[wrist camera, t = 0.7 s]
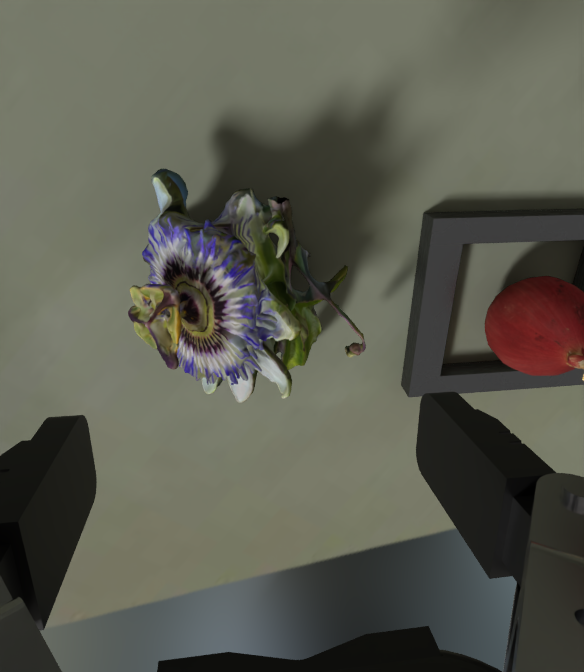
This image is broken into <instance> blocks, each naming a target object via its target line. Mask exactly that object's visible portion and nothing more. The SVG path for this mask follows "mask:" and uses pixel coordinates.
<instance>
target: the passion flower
mask: <svg viewBox="0 0 584 672" xmlns="http://www.w3.org/2000/svg"><path fill="white" fill-rule="evenodd" d="M151 178H152V180H151V181H152V183H153V185H154V188H155V191H156V194H157V197H158V204H159V207H160V210H161V213H160V214H159V215H158V216H157V217H156V218H155V219H154V220H152V221H151V222H150V225H149V228H148V232H149V238H148V240H149V244H148V245H147V247H146V248H145V250H144V251H143V252H142V255H143V258H144V261H145V262H147V263H148V264H149V265H150V268H151V270H150V272H151V274H150V275H149V277H148V278H149V281H150V282H151V284H146V285H144V286H143V287H138V286H132V287H131V288H130V292H131V297H132V299H133V302H134V303H135V305H136V306H132V307H131V308H130V310H129V311H128V315H129V317H130V319H131V320H132V321H133V322H134V329H135V331H136V333H137V335H138V336H139V337H141V338H142V339H143V340H144V341H145V342H146V343H147V344H149V345H150V346H151V347H152V348H154V349H158V351H159V353H160V354H161V356H162V358H163V360H164V361H165V362H166V365H167V367H169V368H170V369H176V368H177V367H178V365H179V362H180V365H179V366H180V367H181V368H183V369H184V371H185V373H190V374H191V375H192V376H194V377H196V381H198V380H199V379H200V380H201V379H202V386H203V388H204V391H205V392H206V393H207V394H211V393H214V391H215V390H216V388H217V387H218V386H219V385H220V384H221V382H222V381H223V380H226V378H227V381H228V383H229V386H230V388H231V391H232V393H233V394H234V396H235V398H236V400H237V401H238V402H239V403H241V402H244V401H246V400H247V399H248V398H249V396H250V395H251V394H252V393H253V391H254V387H255V381H256V376H257V372H260V373H261V374H262V375H263V376H266V377H267V378H268V379H269V380H270V381H271V382H275V383H277V385H278V388H279V389H280V392H281V393H282V394H283V395H282V398H286V397H288V396H289V395H290V392H291V386H292V379H291V375H290V373H289V371H288V370H289V369H292V368H293V367H294V366H297V365H300V366H303V365H305V363H306V361H307V358H308V355H309V351H310V349H311V346H312V344H313V343H314V342H316V340H317V336H318V335H319V334H320V333H321V331H322V326H321V323H320V320H319V318H318V317H317V314H316V311H315V310H314V307H313V306H314V305H315V304H317V303H319V302H321V301H322V300H326V301H328V302H329V304H330V305H331V306H332V307H333V308H334V309H335V310H336V311H337V313H338V314H339V315H340V316H341V317H343V318H344V319H345V320H346V321H347V322H348V324H349V325H350V326H351V328H352V329H353V330H354V331H355V332H356V333H357V334H358V335H359V336H360V338H361V339H362V341H363V342H362V344H359V343H352V344H351V345H350V346H346V347H345V352H346V354H347V356H348V357H353V356H354V355H360V353H361V352H364V350H365V348H366V345H365V341H364V336H363V334H362V333H361V332H360V331H359V330H358V328H357V327H356V326H355V324H354V323H353V322H352V320H350V319H349V317H348V316H347V315H346V314H345V313H344V312H343V311H342V310H341V309H340V308H339V306H338V305H337V304H335V303H334V302H333V301H332V299H331V298H330V293H332V292H333V291H335V290H336V289H337V287H338V286H339V285H340V283H341V282H342V281H343V280H344V278H345V277H346V274H347V271H348V266H346V265H345V266H344V267H343V268H342V269H341V270H340V271H339V272H338V273H337V274H336V275H335V276H334V277H333V278H332V279H331V280H330V281H328V282H318V281H316V280H315V279H314V278H313V277H312V276H311V275H310V272H309V269H308V261H307V258H308V257H310V253H308V252H307V251H306V250H304V249H303V248H302V247H301V245H300V243H299V242H298V241H297V240H296V237H295V231H294V227H293V221H292V207H291V205H290V202H289V199H287V198H285V197H284V198H279V197H277V196H275V197H272V198H270V199H268V201H269V205H265V204H263V203H261V202H259V201H258V199H257V198H256V196H255V194H254V191H253V190H252V189H242V190H238V191H236V192H235V193H234V194H233V195H232V197H231V198H230V200H228V201H227V202H226V206H225V208H224V210H223V211H222V213H221V214H220V215H219V217H218V218H217V219H215V220H214V221H213V222H211V221H210V220H209V219H207V220H205V223H198V222H196V221H194V220H191V219H190V217H189V215H188V212H187V209H186V199H187V195H188V190H187V188H186V184H185V182H184V181H183V179H182V178H181V176H180V175H178V174H177V173H175V172H172V171H170V170H167V169H160V170H158V171H157V172H156V173H155V174H153V175H152V177H151ZM282 215H283V217H284V219H285V221H282ZM271 217H272V219H271ZM270 219H271V220H270ZM269 220H270V221H269ZM269 233H274V234H276V235H277V236H278V237H279V241H278V249H277V248H276V246H275V244H274V243H273V242H272V241H271V239H270V237H269ZM281 255H282V258H280V256H281ZM293 265H294V266H296V268H297V269H298V270H299V271H300V272H301V274H302V275H303V276H304V277H305V279H306V280H307V281H308V283H309V285H310V287H309V289H308V290H307V291H305V292H301V291H298V290H295V289H293V288H292V286H291V283H290V274H291V267H292V266H293ZM278 352H281V353H282V354H281V360H280V359H279V358H278V357H277V356H276V354H277V353H278ZM178 359H179V361H178Z"/></svg>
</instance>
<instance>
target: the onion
mask: <svg viewBox="0 0 584 672" xmlns="http://www.w3.org/2000/svg"><path fill="white" fill-rule="evenodd" d="M485 332H486V337H487V341H488V345H489V346H490V348H491V349H492V350H493V351H494V353H495V354H496V355H497V356H498V357H499V359H500V360H501V361H502V362H503V363H504V364H506V365H507V366H509V367H511V368H513V369H515V370H518V371H520V372H523V373H525V374H529V375H532V376H554V375H560V374H563V373H565V372H568V371H571V370H574V369H575V368H578V369H580V368H582V369H584V292H583V291H582V290H580V289H579V288H578V287H576V286H575V285H573V284H570V283H568V282H566V281H563V280H561V279H558V278H555V277H551V276H542V277H532V278H527V279H524V280H521V281H519V282H517V283H514V284H512V285H510V286H508V287H507V288H505V289H504V290H503V291H502V292H501V293H499V294H498V295H497V296H496V297H495V299H494V300H493V302H492V304H491V305H490V307H489V308H488V311H487V315H486V320H485Z"/></svg>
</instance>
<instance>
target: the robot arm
mask: <svg viewBox="0 0 584 672" xmlns="http://www.w3.org/2000/svg"><path fill="white" fill-rule="evenodd" d="M416 457H417V463H418V467H419V470H420V472H421V474H422V476H423V477H424V479H425V480H426V482H427V483H428V485H429V486H430V488H431V490H432V491H433V493H434V494H435V496H436V497H437V499H438V500H439V502H440V503H441V505H442V506H443V508H444V510H445V511H446V513H447V514H448V516H449V517H450V519H451V520H452V522H453V523H454V525H455V526H456V528H457V529H458V531H459V533H460V534H461V536H462V537H463V538H464V540H465V542H466V543H467V545H468V546H469V548H470V549H471V551H472V552H473V554H474V556H475V557H476V559H477V560H478V562H479V563H480V565H481V566H482V568H483V569H484V571H485V572H486V574H487V575H488V577H489V578H490V579H491V578H499V577H508V576H513V577H514V579H515V580H516V581H517V585H516V590H515V595H514V601H513V609H512V615H511V623H510V629H509V635H508V642H507V649H506V656H505V663H504V670H503V672H584V477H581V476H577V475H573V474H566V473H556V472H555V471H554V470H553V469H552V468H550V467H549V466H548V465H547V464H546V463H545V462H544V461H543V460H542V459H541V458H539V457H538V456H537V455H536V454H535V453H534V452H533V451H532V450H531V449H530V448H528V447H527V446H526V445H525V444H522V443H521V440H520V439H519V438H517V437H516V436H515V435H514V434H513V433H512V434H511V433H510V430H509V429H508V428H506V427H505V426H504V425H503V424H502V423H501V422H500V421H499V420H498V419H496V418H494V417H492V416H490V415H488V414H486V413H484V412H482V411H480V410H478V409H477V410H475V409H474V408H473V407H472V406H470V405H469V404H468V403H467V402H466V401H465V400H464V399H463V398H462V397H461V396H460V395H459V394H458V393H457V392H439V393H426V394H424V395H423V396H422V399H421V403H420V413H419V424H418V434H417V445H416ZM95 495H96V471H95V464H94V458H93V452H92V446H91V440H90V434H89V428H88V423H87V420H86V418H85V416H83V415H77V416H61V417H48V418H47V419H46V420H45V421H44V422H43V424H42V425H41V427H40V428H39V429H38V431H37V432H36V434H35V435H34V436H33V438H32V439H31V440H28V441H21V442H19V443H18V444H17V445H15V446H14V447H12V448H11V449H9V450H8V451H6V452H5V453H3V454H2V455H1V456H0V672H62V671H61V669H60V668H59V666H58V664H57V662H56V660H55V658H54V657H53V655H52V653H51V651H50V649H49V647H48V646H47V644H46V642H45V640H44V638H43V636H42V635H41V633H40V631H39V630H44V628H45V626H46V623H47V620H48V618H49V615H50V613H51V610H52V608H53V605H54V603H55V600H56V597H57V595H58V592H59V590H60V587H61V585H62V582H63V579H64V577H65V574H66V572H67V569H68V567H69V564H70V562H71V559H72V556H73V554H74V551H75V549H76V546H77V544H78V541H79V539H80V536H81V533H82V531H83V528H84V526H85V523H86V521H87V518H88V516H89V513H90V510H91V508H92V505H93V503H94V499H95ZM157 672H502V671H500V670H498V669H497V668H494V667H492V666H490V665H488V664H486V663H484V662H482V661H479V660H477V659H474V658H471V657H468V656H465V655H462V654H458V653H454V652H450V651H446V650H439V648H438V646H437V644H436V642H435V639H434V637H433V635H432V633H431V631H430V628H429V626H425V627H418V628H409V629H402V630H394V631H387V632H379V633H371V634H365V635H363V636H360V637H358V638H355V639H353V640H351V641H348V642H346V643H343V644H341V645H338V646H336V647H334V648H331V649H329V650H326V651H324V652H322V653H319V654H317V655H314V656H312V657H309V658H307V659H304V660H289V659H282V658H273V657H264V656H256V655H249V654H240V653H232V652H225V653H218V654H210V655H203V656H195V657H187V658H179V659H172V660H164V661H159V662H158V670H157Z"/></svg>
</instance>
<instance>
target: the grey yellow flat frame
mask: <svg viewBox="0 0 584 672" xmlns="http://www.w3.org/2000/svg"><path fill="white" fill-rule="evenodd" d="M564 240H584V209H556V210H515V211H474V212H433V213H424V214H423V221H422V229H421V237H420V244H419V252H418V260H417V267H416V275H415V283H414V290H413V298H412V306H411V313H410V321H409V329H408V336H407V344H406V352H405V359H404V367H403V375H402V382H401V386H402V387H403V389H404V391H405V392H406V394H407V396H408V397H418V396H423V395H424V394H426V393H439V392H457V393H458V394H460V393H474V392H487V391H501V390H515V389H529V388H542V387H556V386H570V385H584V369H582V368H580V369H578V368H575V369H574V370H571V371H568V372H565V373H563V374H560V375H554V376H532V375H529V374H525V373H523V372H520V371H518V370H515V369H513V368H511V367H509V366H507V365H506V364H504V363H503V362H502V361H501V360H500V361H485V362H469V363H454V364H442V363H443V357H444V351H445V345H446V339H447V334H448V328H449V322H450V316H451V311H452V305H453V299H454V293H455V287H456V282H457V276H458V270H459V264H460V258H461V253H462V247H463V244H473V243H503V242H534V241H564ZM573 285H575V286H576V287H578V288H579V289H580V290H582V291H583V292H584V248H583V251H582V255H581V258H580V262H579V265H578V269H577V272H576V275H575V279H574V282H573Z"/></svg>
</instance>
